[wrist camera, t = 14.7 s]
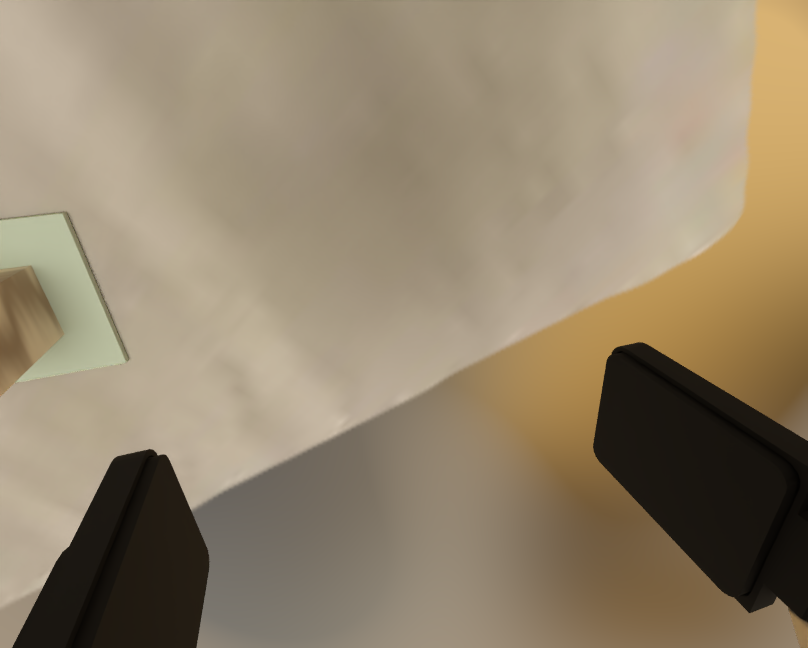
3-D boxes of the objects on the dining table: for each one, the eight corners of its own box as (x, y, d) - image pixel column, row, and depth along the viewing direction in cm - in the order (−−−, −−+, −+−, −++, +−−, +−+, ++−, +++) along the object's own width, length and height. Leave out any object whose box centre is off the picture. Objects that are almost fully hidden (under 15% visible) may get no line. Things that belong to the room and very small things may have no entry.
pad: (-144, 235, 27) (-152, 237, 27) (66, 211, 30) (62, 213, 29) (-42, 389, 32) (-48, 394, 32) (128, 359, 35) (126, 362, 34)
